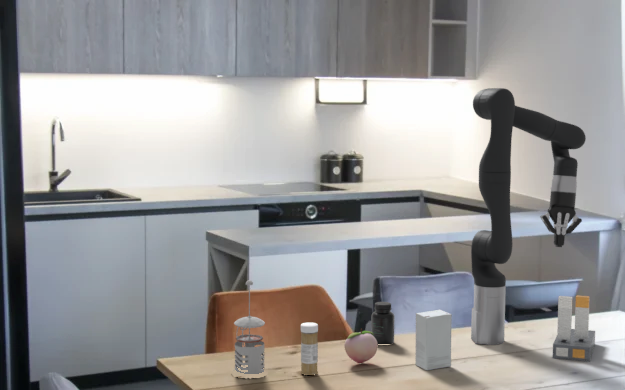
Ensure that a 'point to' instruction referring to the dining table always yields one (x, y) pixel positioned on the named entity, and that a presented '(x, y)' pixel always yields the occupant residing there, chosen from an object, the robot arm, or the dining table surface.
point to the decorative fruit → (361, 346)
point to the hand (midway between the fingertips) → (558, 246)
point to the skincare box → (433, 339)
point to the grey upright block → (564, 317)
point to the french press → (249, 344)
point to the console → (574, 347)
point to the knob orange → (581, 317)
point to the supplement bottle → (383, 323)
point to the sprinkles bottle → (309, 348)
